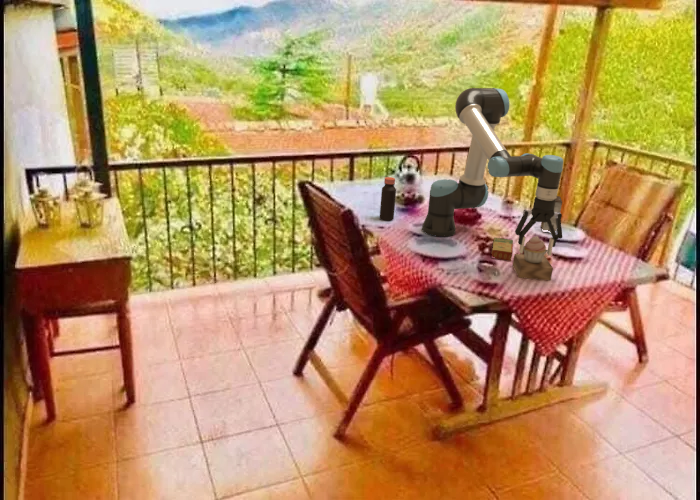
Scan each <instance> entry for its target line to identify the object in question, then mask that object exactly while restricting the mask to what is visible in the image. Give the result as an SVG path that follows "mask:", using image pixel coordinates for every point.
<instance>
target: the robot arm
mask: <svg viewBox="0 0 700 500" xmlns="http://www.w3.org/2000/svg"><path fill="white" fill-rule="evenodd" d="M454 108H455V109H454V111H455V114H456V115H457V116H456V117H457V118H458V120H459V121H460V122H461V124H465V126H466V128H467V129H468V130H469V132H470V134H471V135H472V136H471V140H470V144H469V150H468V155H467V158H466V163H465V168H464V169H465V170H464V171H463V174H462V175H461V176H459V180H458V181H456V180H454V179H447V178H446V179H439V180H435V181H433V182H432V183H431V185H430V190H429V199H428V206H427V207H428V209H427V215H426V217H425V219H424V221H423V223H422V227H421V231H422V230H423V231H422V232H423V233H425V234H426V233H427V234H426V235H429V234H431V235H430V236H433V235H436V236H435V237H439V236H442V237H443V238H445V237H452V236H454V235H455V234H456V229H457V228H456V223H455V219H454V215H455V210H461V209H462V210H463V209H475V208H480V207H482V206H484V205H485V203H486V202H487V200H488V199H489V191H488V190H489V187H488V186H487V183H486V180H485V178H484V175H485V171H486V167H487V170H488V174H489V176H491V177H492V178H493V177H494V178H510V177H533V178H536V179H538V180H537V184H536V185H537V186H536V188H535V189H536V190H535V197H534V200H533V206H532V208H531V210H527V209H526V208H525V209H523V212H522V215H521V216H522V217H521V218H520V220H519V222H518V224H517V226H516V229H515V231H514V233H515V235H516V236H518V241H517V243H518V245H519V248H518V251H519V254H524V251H523V248H524V246H525V244H526V237H525V235H527V234H528V232H529V231H530V230H531V228H532V227H533V226H534V225H535V224H536V223H541V222H544V223H546V222H547V224H548V227H549V229H550V232H551V236H552V237H551V236H550V237H549V241H548V247H547V250H548V251H547V252H546V254H547V255H548V256H550V257H551V256H552V251H553V248H555V247H556V244H557V241H558V239H563V230H562V220H561V219H562V217H563V215H562V213H561V211H560V212H554V208H555V203H556V200H555V199H556V197H557V196H558V191H559V186H560V182H561V178H562V172H563V170H564V168H563V167H564V158H563V157H561V156H558V155H553V154H545V155H543V156H542V157H540V156H538V155H535V154H532V153H523V154H522V155H516V156H515V155H511V154H510V153H509V152H508V149H506V147H505V146H504V144H503V143H502V141H501V139H500V138H499V136H498V135H497V134H496V132H495V128H496V126H497V125H499V124H500V123H501V118H503V117H506V116H507V115H508V113H509V111H510V99H509V96H508V94H507V92H506V91H505V90H504V89H502V88H495V87H479V88H478V87H471V88H470V87H469V88H466V89H465V90H463V91H462V92H461V93H459V94H458V97H457V99H456V100H455V106H454ZM530 215H532V216H531V218H530V220H529V221H528V222H527V220H528V217H529V216H530ZM553 216H555V218H556V226H557V229H556V233H555V231H554V228H553V226H552V223H551V220H550V219H551V218H552V217H553ZM526 222H527V223H526Z"/></svg>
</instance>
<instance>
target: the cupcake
mask: <svg viewBox="0 0 700 500" xmlns="http://www.w3.org/2000/svg"><path fill="white" fill-rule="evenodd" d="M547 251H548V249H547V247H546V243H545V242H544V240H542V239H540V238H539V236H537V235H536V236H533V237H531V238H530V239H529V240H528V241H526V242H525V243H524V248H523V254H524V257H525V260H526V261H527V262H530V263H540V262H542V260H543V257H544V256H545V255H546V254H547Z"/></svg>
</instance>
